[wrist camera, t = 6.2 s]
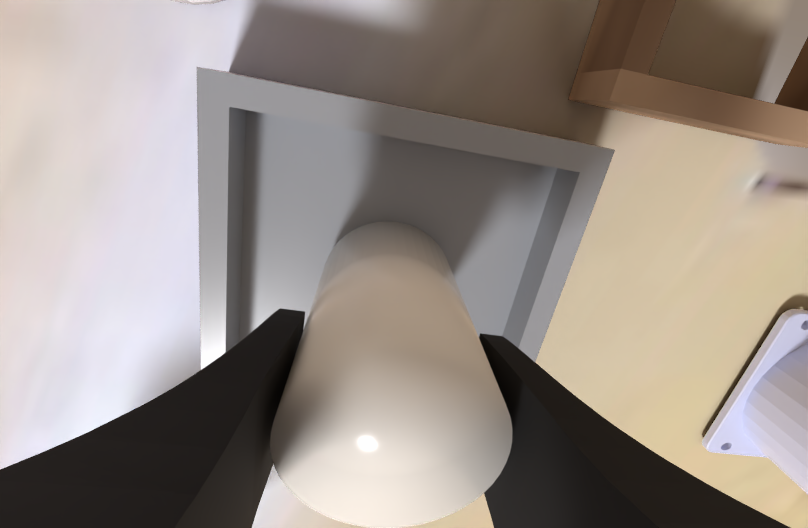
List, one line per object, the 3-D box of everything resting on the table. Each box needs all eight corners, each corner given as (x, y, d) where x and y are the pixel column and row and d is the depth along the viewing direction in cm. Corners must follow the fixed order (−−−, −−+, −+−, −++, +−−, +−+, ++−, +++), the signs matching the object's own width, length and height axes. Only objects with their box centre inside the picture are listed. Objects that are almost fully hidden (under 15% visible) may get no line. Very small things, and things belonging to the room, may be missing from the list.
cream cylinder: (466, 236, 13) (548, 371, 7) (432, 345, 15) (472, 537, 8) (334, 208, 13) (285, 327, 6) (314, 325, 14) (258, 516, 8)
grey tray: (577, 141, 14) (615, 149, 12) (489, 402, 18) (504, 443, 16) (228, 71, 12) (196, 67, 10) (223, 376, 16) (201, 417, 14)
